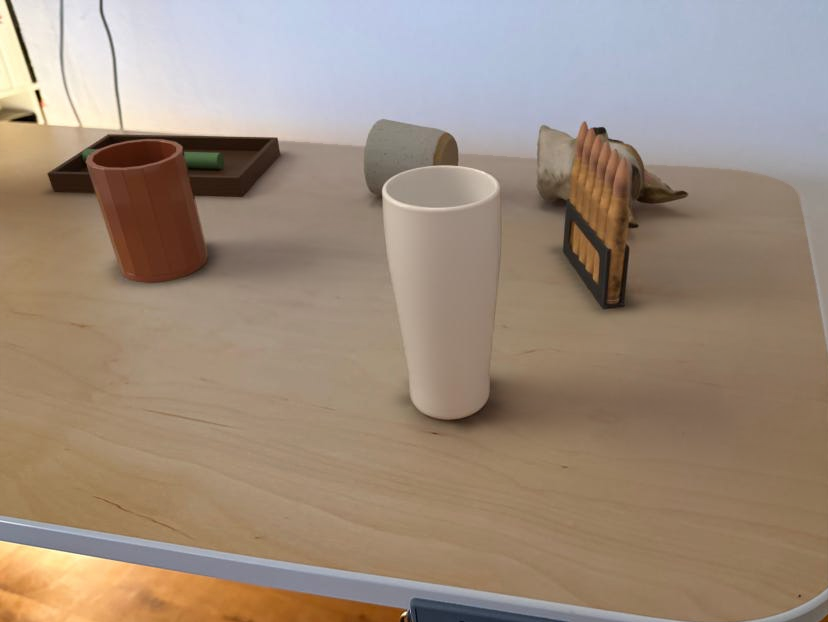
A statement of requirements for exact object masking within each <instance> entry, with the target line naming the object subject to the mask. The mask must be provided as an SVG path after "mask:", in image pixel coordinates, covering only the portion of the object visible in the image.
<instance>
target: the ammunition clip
mask: <svg viewBox="0 0 828 622" xmlns="http://www.w3.org/2000/svg"><path fill="white" fill-rule="evenodd" d="M588 130H589V131H588ZM577 136H578V137H577ZM577 136H576V138H577V142H576V150H575V157H574V165H573V168H572V173H571V186H570V199H567V200H565V214H564V215H565V216H564V229H563V231H564V232H563V240H562V241H563V242H562V243H563V244H562V253H563V254H564V256H565V257H566V258H567V260H568V261H569V263H570V264H571V266H572V267H573V269H574V270H575V271H576V273H577V274H578V276H579V277H580V278H581V280H582V281H583V283H584V285H585V286H586V287H587V289H588V291H590V293H591V295H592V296H593V297H594V299H595V300H596V302H597V303H598V304H599V306H600V307H601V309H610V308H618V307H625V302H626V301H625V300H626V290H627V279H628V268H629V260H630V249H631V248H630V246H629V245H628V244H627V242H628V231H629V228H628V223H629V207H628V204H629V186H630V177H629V167H628V162H627V159H626V158H625V157H623V158H622V160H621V162H620V159H619V154H618V151H617V149H614V150H613V152H612V154H611V148H610V145H609V142H605V144H604V145H603V141H602V137H601V135H600V134H598V135H597V137H596V136H595V132H594V129H593V127H590V128H589V126H588V123H587V121H586V120H584V121H582V123H581V124H580V127H579V129H578V133H577Z"/></svg>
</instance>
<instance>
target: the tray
mask: <svg viewBox="0 0 828 622" xmlns="http://www.w3.org/2000/svg"><path fill="white" fill-rule="evenodd" d="M142 139H163V140H169V141H174V142H177V143H178V144H180V145H181V146H182V147H183V151H184V152H208V153H221V154H222V155H223V158H224V166H223V168H222V169H194V168H188V172H189V176H190V180H191V184H192V188H193V193H194V196H209V197H210V196H211V197H212V196H213V197H243V196H244V195H245V194H246V193H247V192H248V191H249V190H250V189H251V188H252V187H253V185H254V184H255V183H256V182H257V181H258V180H259V179H260V178H261V177H262V175H263V174H264V173H266V171H267V170H268V169H269V168H270V166H272V164H273V163H274V162H275V161H276V160H277V159H278V158H279V157H280V156H281V151H280V144H279V139H278V137H274V136H272V137H269V136H268V137H267V136H227V135H226V136H223V135H222V136H221V135H219V136H218V135H171V134H169V135H167V134H166V135H165V134H118V133H108V134H106V135H105V136H103V137H102V138H100V139H98V140H97V141H95V142H94V143H92V144H91V145H89V146H87V147H86V148H84V149H83V150H81V151H80V152H78V153H77V154H75V155H73V156H72V157H70V158H68V159H67V160H66V161H64V162H63V163H61V164H60V165H57V166H56V167H55V168H53V169H52V170H50V171H48V172H47V177H48V180H49V183H50V186H51V188H52V191H53V192H55V193H57V192H58V193H91V194H92V193H94V194H96V193H95V190H94V187H93V184H92V180H91V177H90V174H89V171H88V168H87V165H86V164H85V163H84V161H83V158H82V154H83V151H84V150H85V149H101V148H103V147H106V146H109V145H112V144H116V143H121V142H126V141H132V140H142Z"/></svg>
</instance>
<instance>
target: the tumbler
mask: <svg viewBox="0 0 828 622" xmlns="http://www.w3.org/2000/svg"><path fill="white" fill-rule="evenodd" d="M86 165H87V168H88V171H89V174H90V177H91V180H92V184H93V187H94V190H95V193H94V194H95V196H96V199H97V202H98V205H99V208H100V212H101V215H102V219H103V221H104V224H105V227H106V230H107V234H108V237H109V240H110V244H111V247H112V249H113V253H114V255H115V259H116V262H117V265H118V267H119V269H120V273H121V274H122V275H123V276H124V278H127V279H129V280H131V281H135V282H141V283H161V282H167V281H172V280H177V279H179V278H183V277H185V276H188V275H191V274H193V273H194V272H197V271H198V270H200V269H201V268H202V267H203V266H205V264H206V263H207V262H208V260H209V253H208V250H207V243H206V238H205V235H204V231H203V226H202V222H201V218H200V214H199V210H198V206H197V201H196V199H195V198H196V197H195V195H194V193H193V188H192V184H191V180H190V176H189V172H188V168H187V163H186V159H185V155H184V151H183V147H182V146H181V145H180V144H178V143H177V142H174V141H169V140H163V139H142V140H132V141H126V142H121V143H116V144H112V145H109V146H106V147H103V148H101V149H98V150H96V151H94V152H93V153H91V154H90V155H88V157H87V160H86Z"/></svg>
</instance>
